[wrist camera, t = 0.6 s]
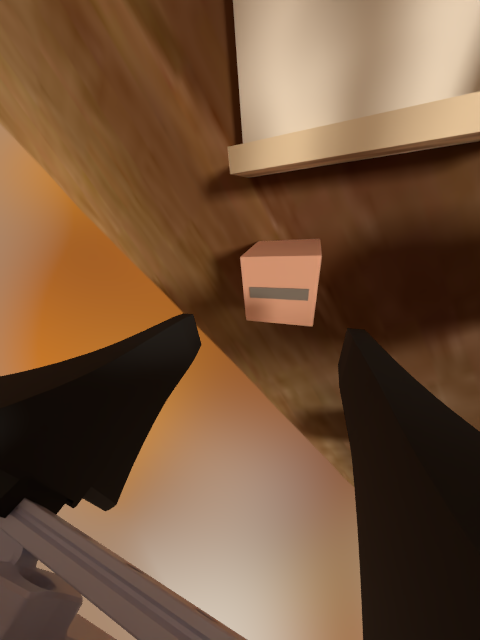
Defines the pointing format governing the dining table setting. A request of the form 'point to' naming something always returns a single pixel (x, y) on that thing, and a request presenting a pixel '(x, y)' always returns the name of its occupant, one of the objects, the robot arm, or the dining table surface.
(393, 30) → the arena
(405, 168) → the dining table surface
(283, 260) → the terracotta cube
